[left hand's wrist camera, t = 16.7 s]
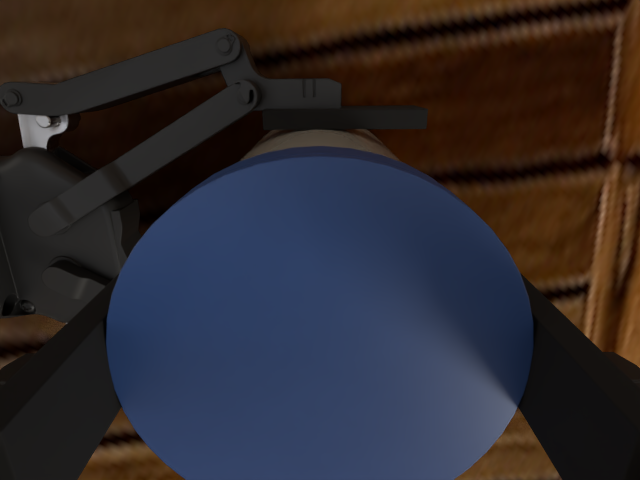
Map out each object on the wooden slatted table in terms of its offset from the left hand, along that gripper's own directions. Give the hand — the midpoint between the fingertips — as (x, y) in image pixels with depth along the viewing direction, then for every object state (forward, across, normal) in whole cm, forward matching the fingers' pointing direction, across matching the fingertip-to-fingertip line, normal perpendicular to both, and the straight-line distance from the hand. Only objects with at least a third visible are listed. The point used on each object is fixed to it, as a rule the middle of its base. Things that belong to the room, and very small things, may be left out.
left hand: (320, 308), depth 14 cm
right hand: (+7, -4, 0) cm, 8 cm away
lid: (-3, 0, 0) cm, 3 cm away
